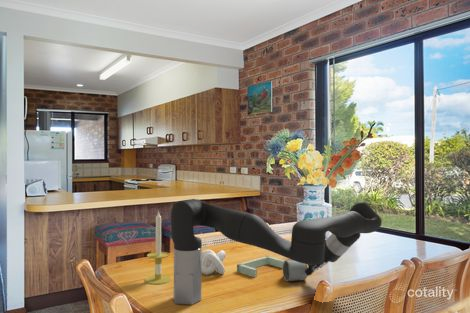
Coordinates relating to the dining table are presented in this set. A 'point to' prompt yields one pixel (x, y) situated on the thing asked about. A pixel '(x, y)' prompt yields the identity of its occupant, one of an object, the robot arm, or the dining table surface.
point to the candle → (158, 257)
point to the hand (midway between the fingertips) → (307, 273)
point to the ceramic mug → (294, 270)
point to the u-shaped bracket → (250, 266)
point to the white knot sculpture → (212, 262)
